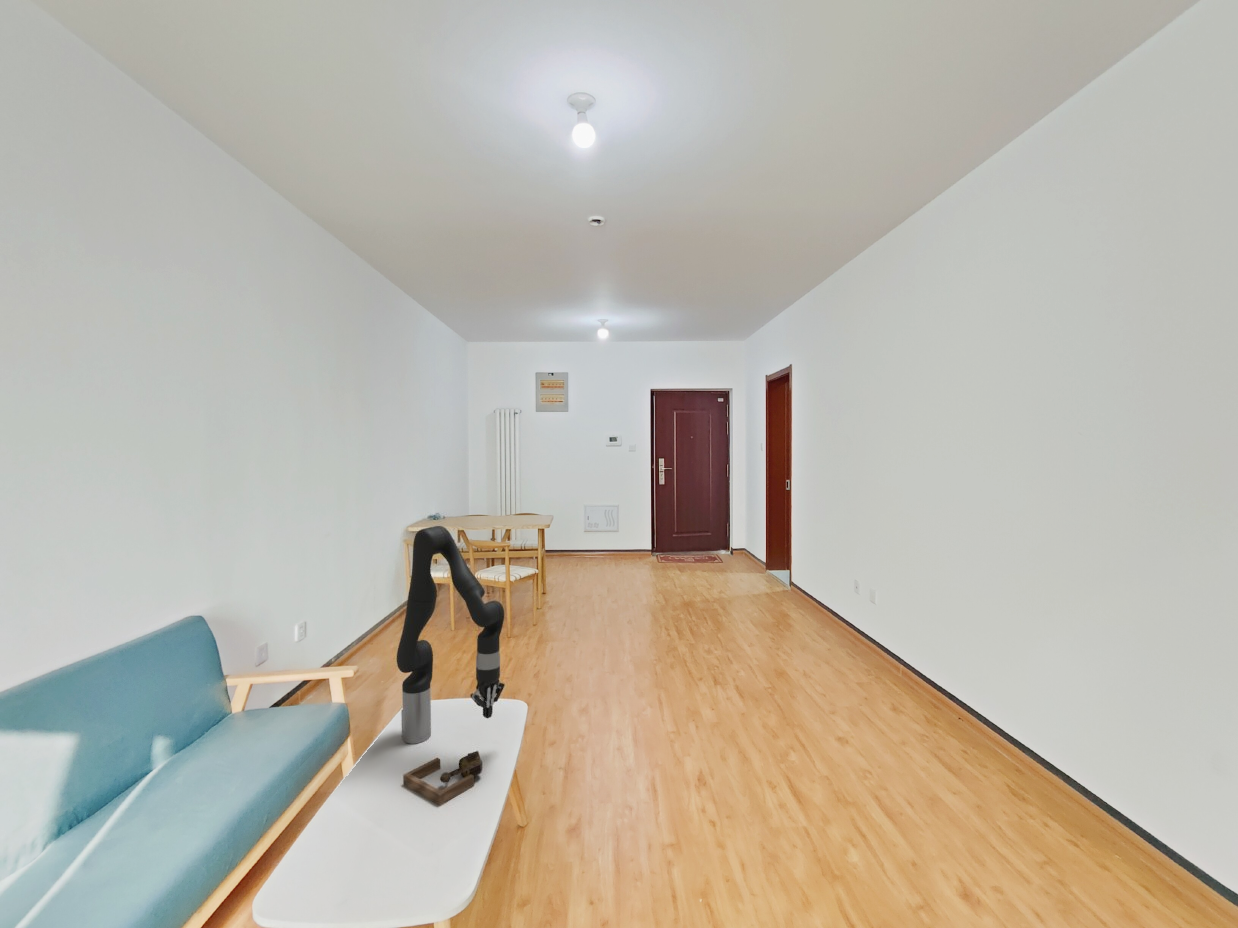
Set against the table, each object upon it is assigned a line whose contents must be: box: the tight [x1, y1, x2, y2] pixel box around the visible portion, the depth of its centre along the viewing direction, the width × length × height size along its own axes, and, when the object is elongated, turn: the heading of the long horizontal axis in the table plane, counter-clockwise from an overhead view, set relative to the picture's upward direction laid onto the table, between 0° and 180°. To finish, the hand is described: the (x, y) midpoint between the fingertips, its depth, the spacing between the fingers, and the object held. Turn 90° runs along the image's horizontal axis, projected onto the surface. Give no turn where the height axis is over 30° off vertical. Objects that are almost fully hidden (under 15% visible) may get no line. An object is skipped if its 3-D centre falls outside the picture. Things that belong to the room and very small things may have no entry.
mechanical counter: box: [439, 750, 483, 784], centre depth 175 cm, size 7×13×10 cm
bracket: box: [402, 757, 475, 806], centre depth 173 cm, size 18×12×3 cm
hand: (487, 716), depth 189 cm, fingers closed
